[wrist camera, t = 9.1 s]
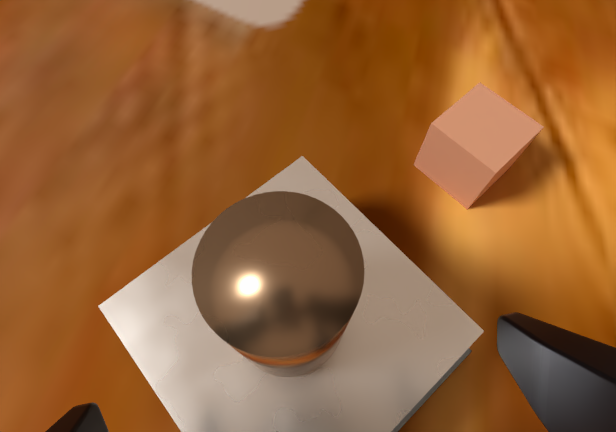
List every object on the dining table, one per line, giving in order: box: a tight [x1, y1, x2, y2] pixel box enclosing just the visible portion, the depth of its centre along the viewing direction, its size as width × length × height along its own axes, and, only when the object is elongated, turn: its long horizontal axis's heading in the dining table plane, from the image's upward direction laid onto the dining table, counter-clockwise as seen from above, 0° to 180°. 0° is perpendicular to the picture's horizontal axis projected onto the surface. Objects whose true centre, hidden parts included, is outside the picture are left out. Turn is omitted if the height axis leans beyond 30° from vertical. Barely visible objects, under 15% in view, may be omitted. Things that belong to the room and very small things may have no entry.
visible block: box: [414, 83, 543, 209], centre depth 22 cm, size 4×4×4 cm
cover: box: [99, 156, 484, 432], centre depth 14 cm, size 10×10×11 cm
